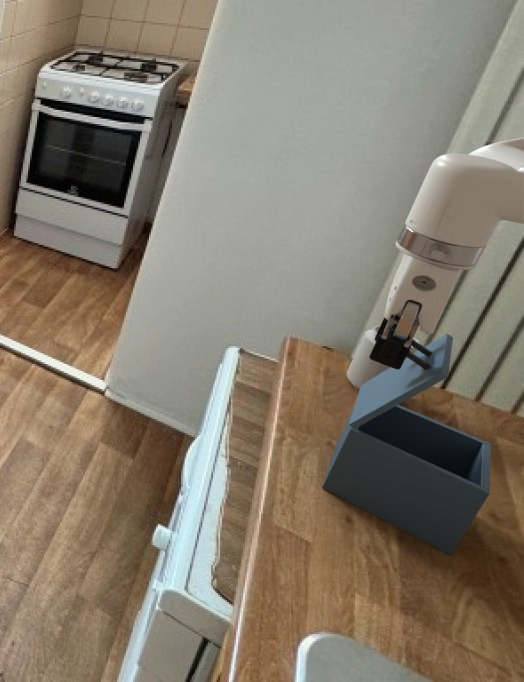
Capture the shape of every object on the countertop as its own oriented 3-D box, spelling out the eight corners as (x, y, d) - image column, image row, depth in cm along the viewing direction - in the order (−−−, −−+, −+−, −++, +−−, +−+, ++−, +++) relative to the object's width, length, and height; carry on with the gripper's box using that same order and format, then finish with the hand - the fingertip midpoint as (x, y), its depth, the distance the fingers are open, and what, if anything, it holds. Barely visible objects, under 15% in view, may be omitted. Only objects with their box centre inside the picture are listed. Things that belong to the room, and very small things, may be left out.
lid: (453, 337, 85) (413, 311, 88) (448, 377, 78) (404, 347, 80) (366, 389, 94) (332, 363, 96) (354, 429, 86) (317, 400, 89)
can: (404, 392, 110) (431, 339, 105) (393, 409, 106) (421, 355, 101) (351, 368, 116) (375, 316, 111) (339, 383, 112) (362, 331, 107)
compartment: (455, 502, 89) (491, 443, 85) (450, 555, 82) (489, 493, 77) (335, 445, 98) (362, 389, 94) (321, 487, 91) (350, 429, 87)
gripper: (479, 281, 72) (418, 398, 78) (481, 235, 82) (427, 341, 89) (392, 256, 77) (342, 367, 84) (405, 215, 88) (359, 317, 94)
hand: (386, 353), depth 86 cm, fingers closed on lid, 5 cm apart
